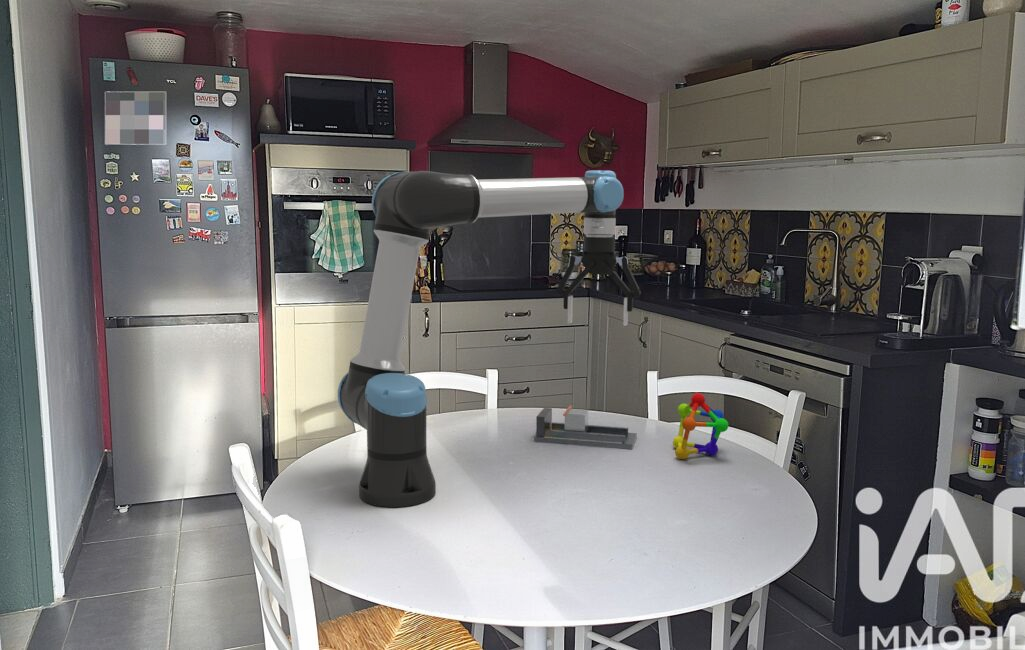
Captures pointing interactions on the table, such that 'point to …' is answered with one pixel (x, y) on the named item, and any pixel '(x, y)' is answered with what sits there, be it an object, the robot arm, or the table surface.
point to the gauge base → (582, 434)
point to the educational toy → (690, 425)
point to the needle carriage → (576, 420)
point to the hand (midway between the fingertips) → (597, 323)
